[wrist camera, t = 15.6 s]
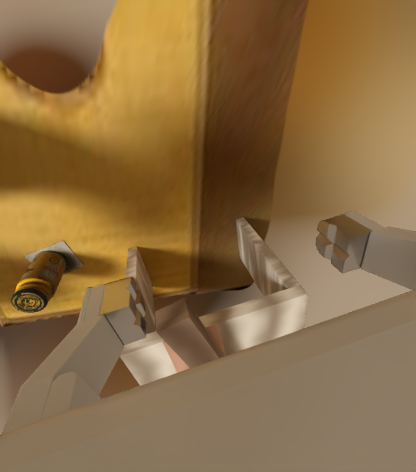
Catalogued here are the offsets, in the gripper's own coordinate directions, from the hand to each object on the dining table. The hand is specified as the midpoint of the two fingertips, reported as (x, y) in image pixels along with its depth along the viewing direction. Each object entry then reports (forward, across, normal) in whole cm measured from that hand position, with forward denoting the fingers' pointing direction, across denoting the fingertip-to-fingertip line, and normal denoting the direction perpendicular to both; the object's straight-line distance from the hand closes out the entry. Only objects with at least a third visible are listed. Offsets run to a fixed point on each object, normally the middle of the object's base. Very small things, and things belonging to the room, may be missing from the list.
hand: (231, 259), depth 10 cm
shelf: (+39, 0, +28) cm, 48 cm away
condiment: (+39, +29, +20) cm, 53 cm away
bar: (+13, +3, +27) cm, 30 cm away
